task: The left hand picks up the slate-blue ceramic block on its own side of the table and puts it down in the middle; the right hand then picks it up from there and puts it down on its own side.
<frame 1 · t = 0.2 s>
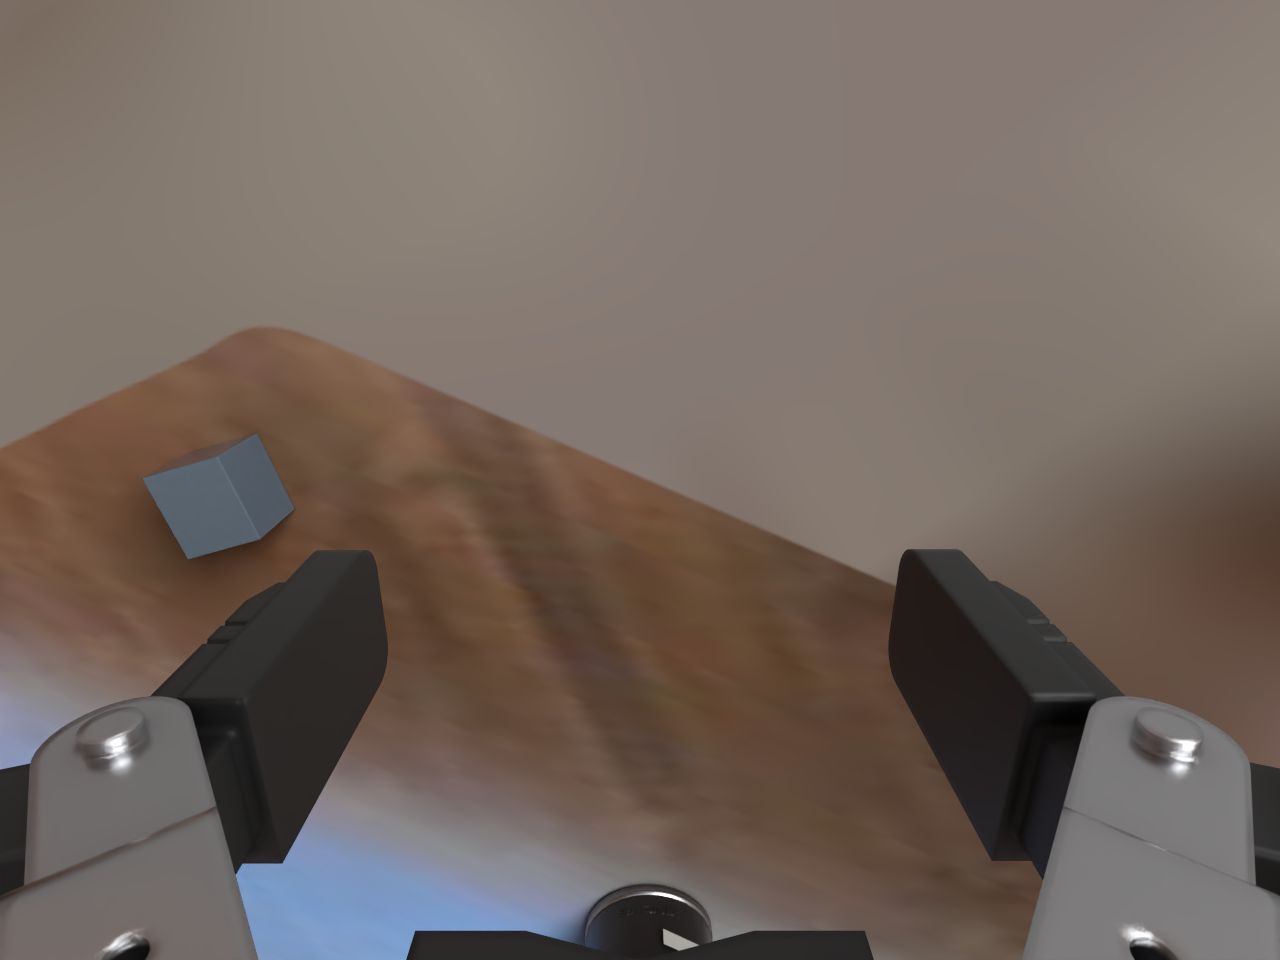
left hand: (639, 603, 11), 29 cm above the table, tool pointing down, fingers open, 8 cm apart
block: (242, 481, 41), on the table
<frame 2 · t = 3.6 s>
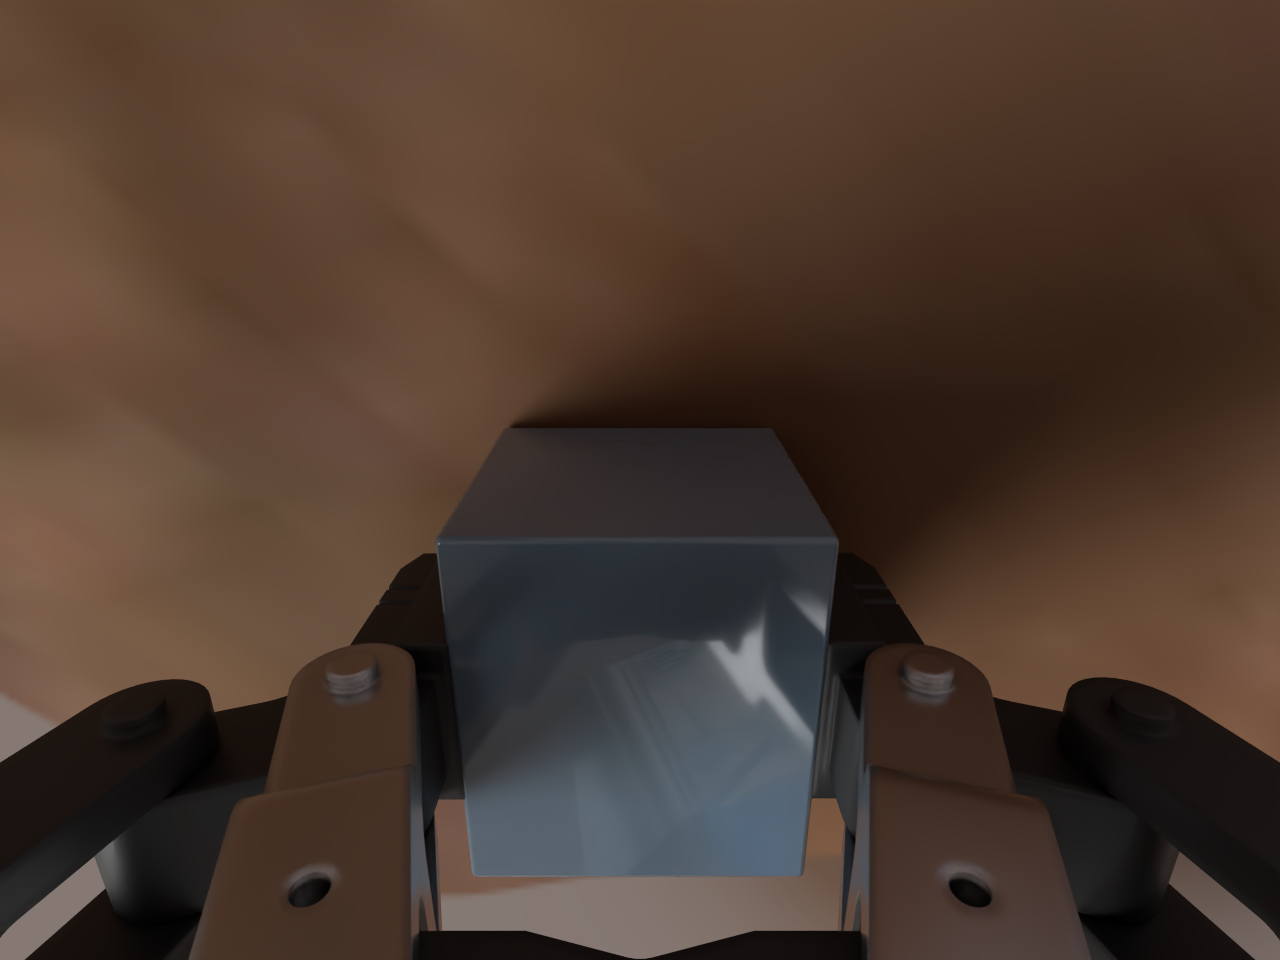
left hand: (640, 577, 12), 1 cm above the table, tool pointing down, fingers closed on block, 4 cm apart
block: (638, 563, 12), on the table, touching left hand
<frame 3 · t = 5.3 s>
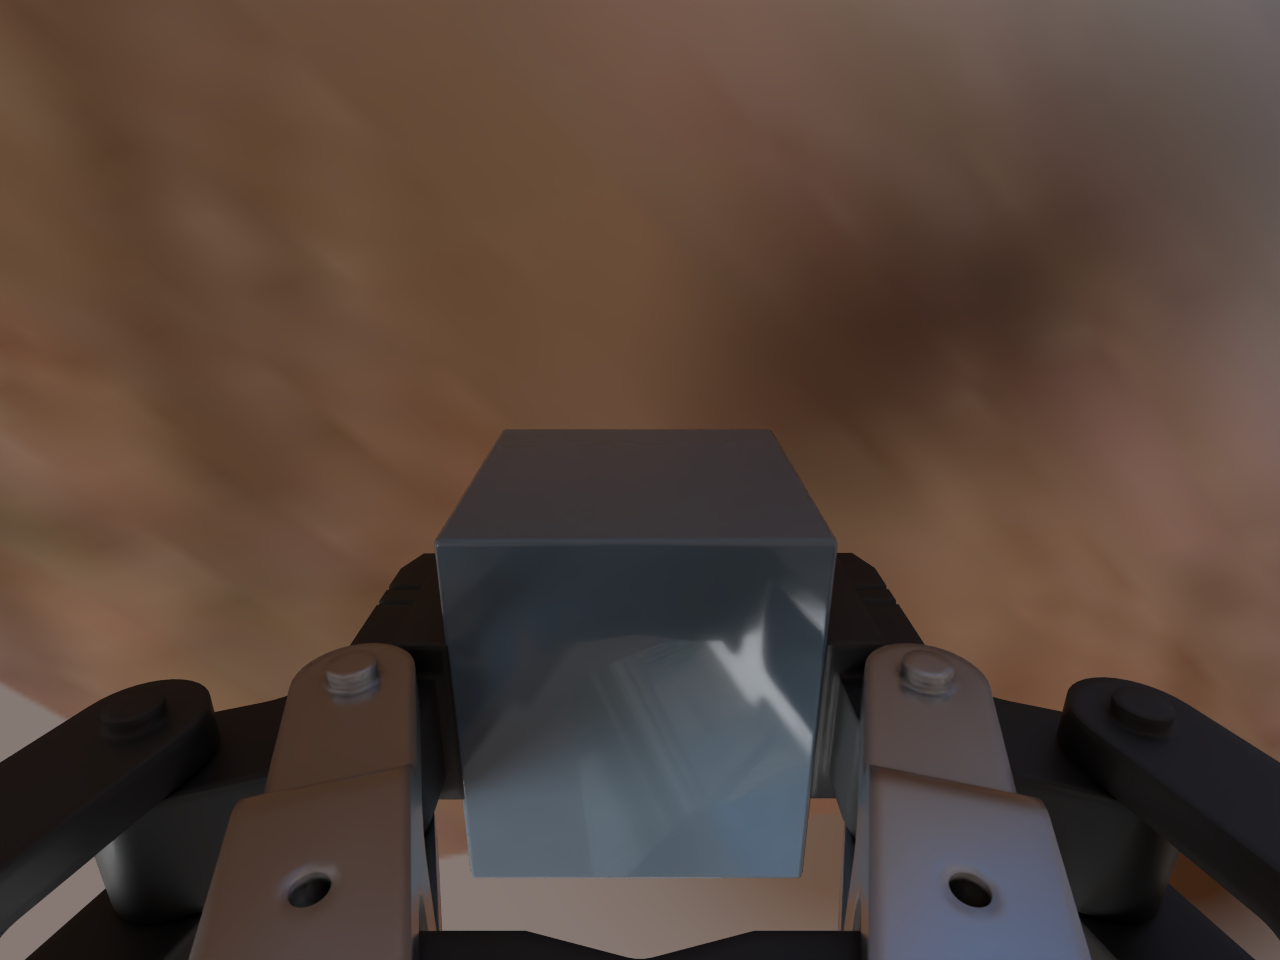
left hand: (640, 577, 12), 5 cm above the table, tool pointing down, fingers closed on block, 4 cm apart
block: (637, 564, 12), point 5 cm above the table, touching left hand
when the left hand's fingers open (1 cm above the table, at t = 7.5 s): block stays where it is, on the table.
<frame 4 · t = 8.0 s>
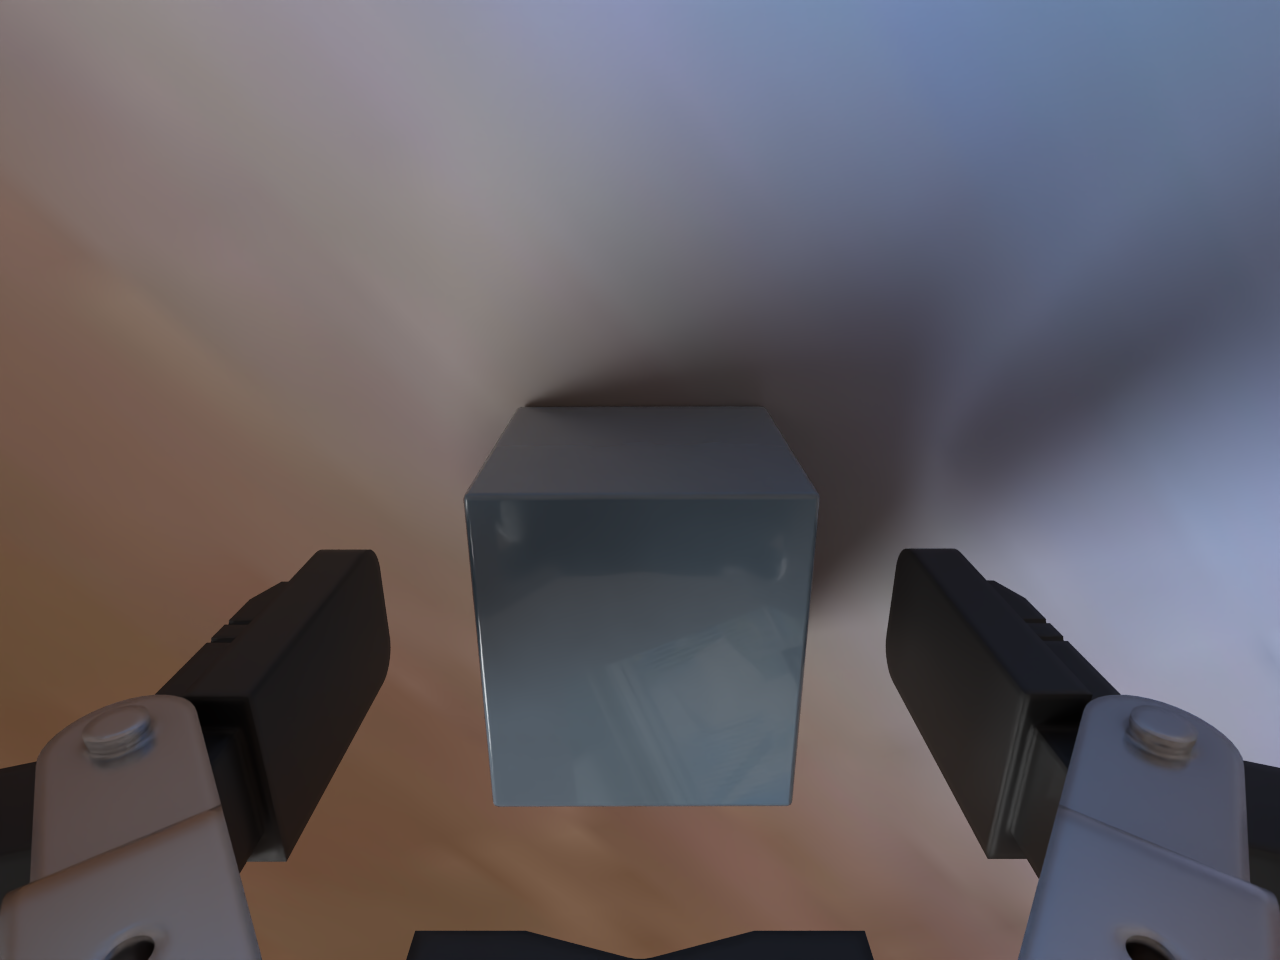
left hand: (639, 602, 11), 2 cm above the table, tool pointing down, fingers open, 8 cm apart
block: (641, 532, 13), on the table
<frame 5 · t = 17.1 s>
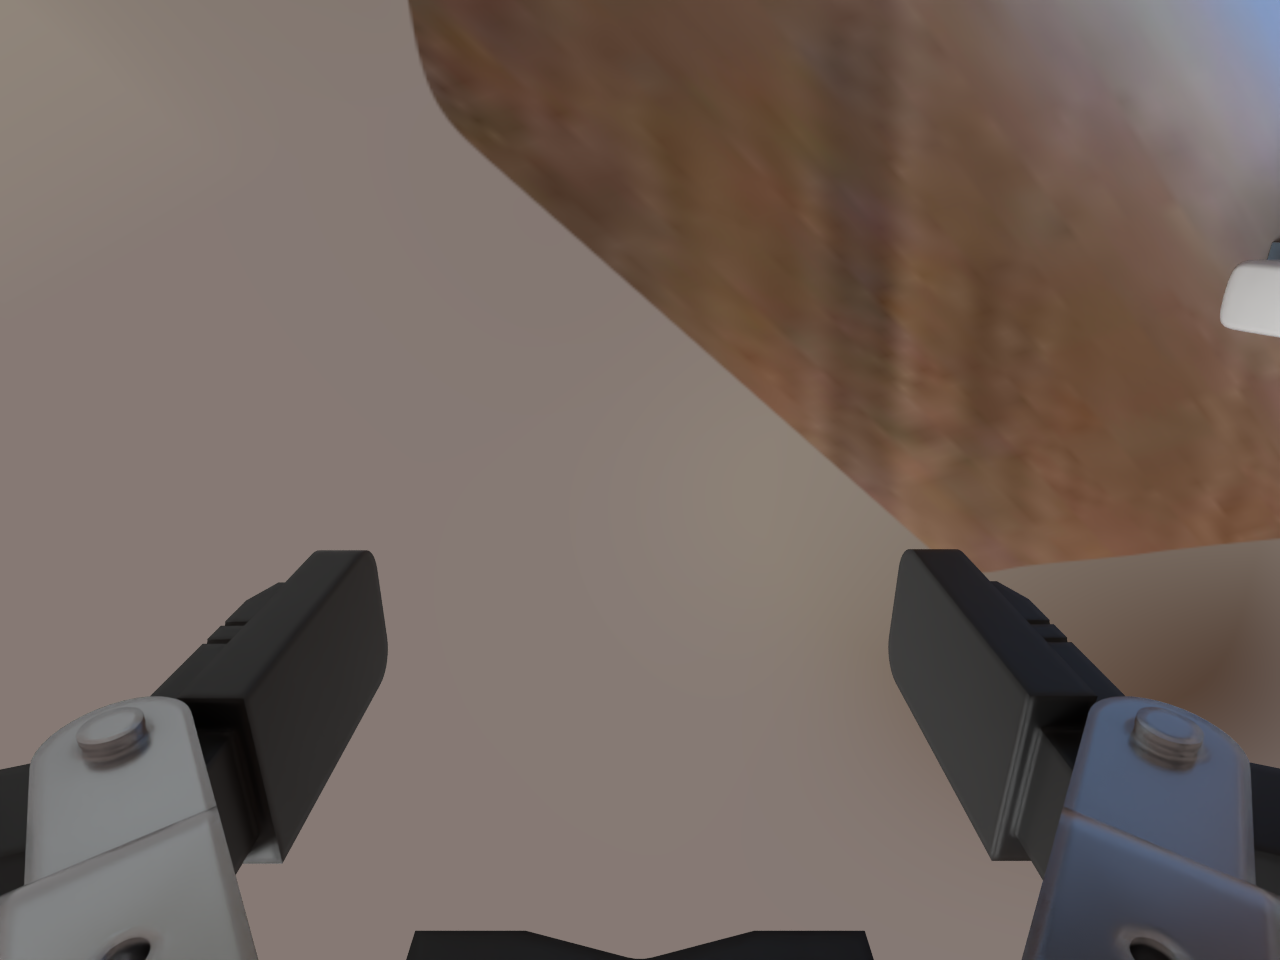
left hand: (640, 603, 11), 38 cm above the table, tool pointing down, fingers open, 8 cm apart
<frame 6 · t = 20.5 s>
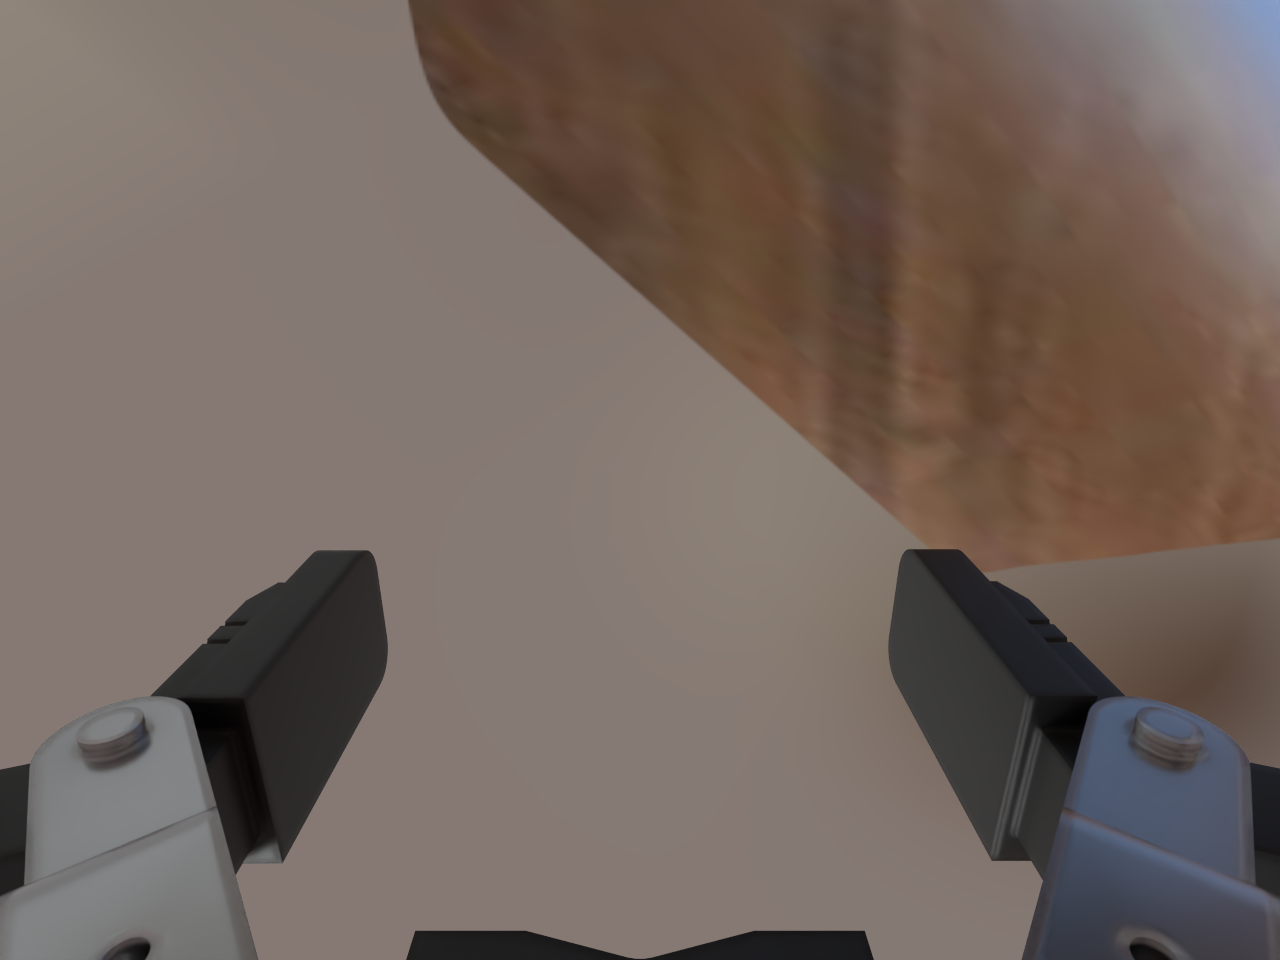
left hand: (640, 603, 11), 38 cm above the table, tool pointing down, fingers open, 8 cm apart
when the right hand's fingers open (3 cm above the table, at t = 24.1 s): block stays where it is, on the table.
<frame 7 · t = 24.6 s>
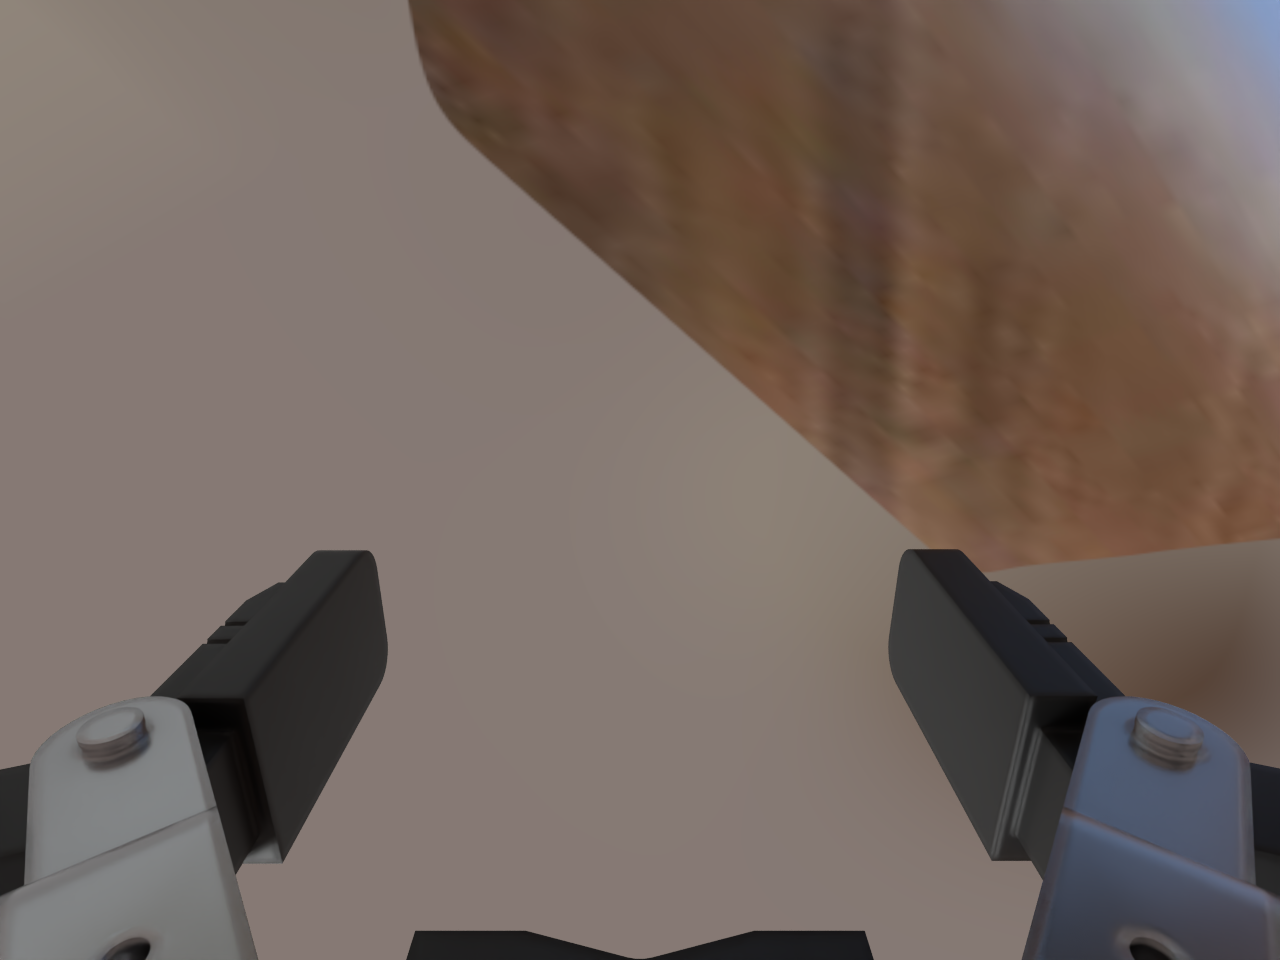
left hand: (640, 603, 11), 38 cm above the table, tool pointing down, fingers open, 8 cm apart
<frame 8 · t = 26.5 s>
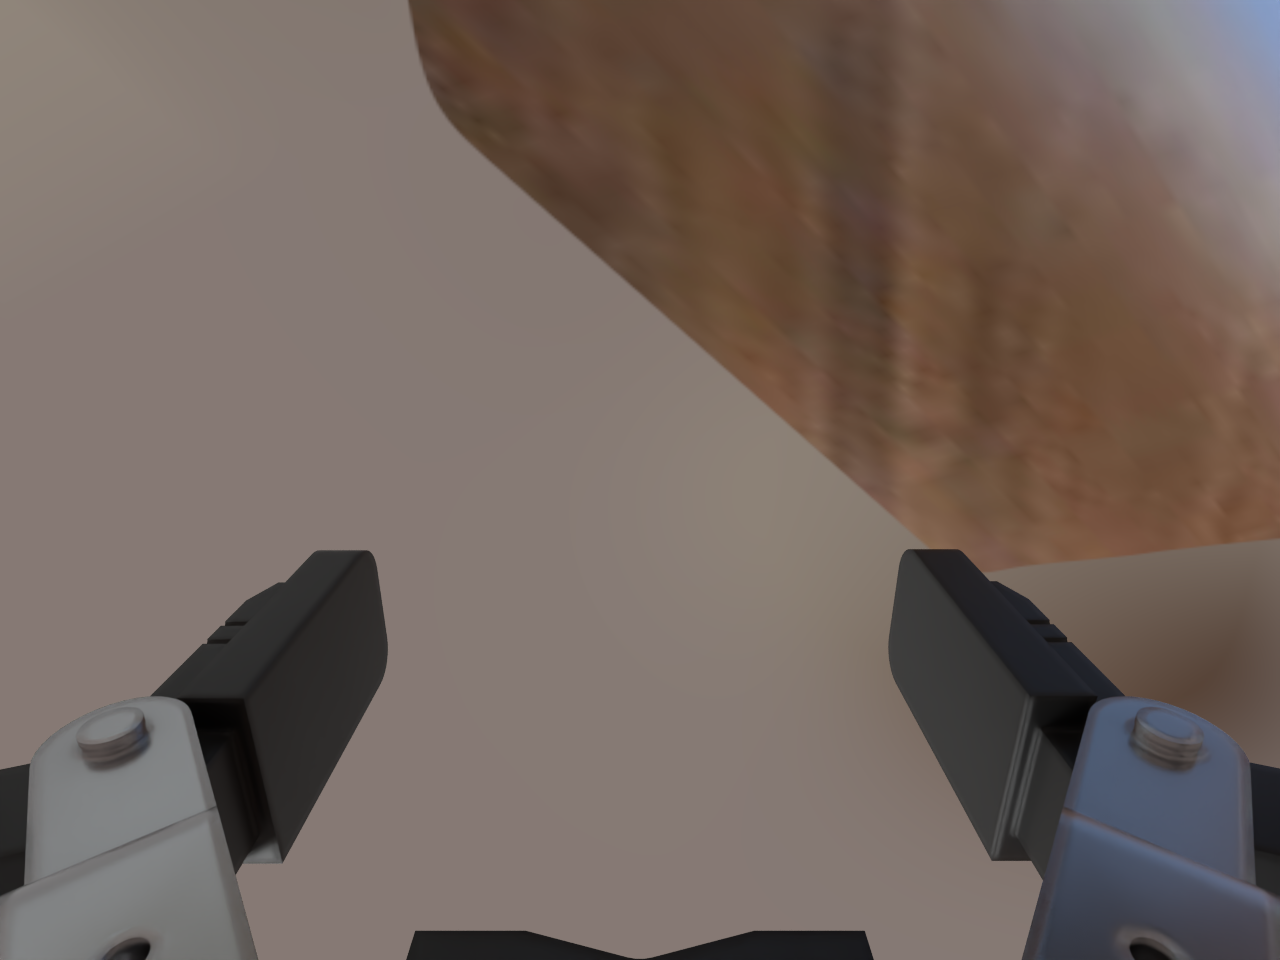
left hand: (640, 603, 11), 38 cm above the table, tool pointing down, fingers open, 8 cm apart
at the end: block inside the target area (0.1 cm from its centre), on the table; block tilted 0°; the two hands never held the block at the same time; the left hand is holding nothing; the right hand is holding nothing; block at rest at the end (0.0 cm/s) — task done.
